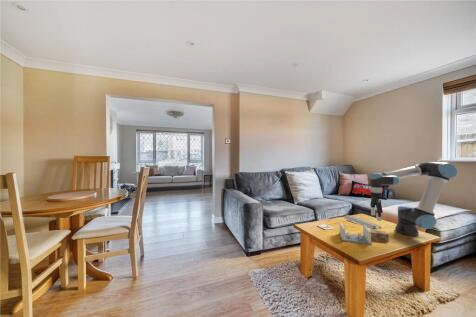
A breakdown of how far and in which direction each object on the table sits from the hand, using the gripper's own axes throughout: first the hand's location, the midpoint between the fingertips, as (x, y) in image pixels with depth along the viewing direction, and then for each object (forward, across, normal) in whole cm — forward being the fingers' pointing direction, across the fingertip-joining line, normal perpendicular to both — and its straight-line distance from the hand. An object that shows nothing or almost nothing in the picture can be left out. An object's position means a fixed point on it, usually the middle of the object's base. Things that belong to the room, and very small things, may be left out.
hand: (376, 217), depth 150 cm
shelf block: (+17, +1, +1) cm, 17 cm away
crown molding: (+18, -36, -2) cm, 40 cm away
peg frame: (+17, +7, -17) cm, 25 cm away
